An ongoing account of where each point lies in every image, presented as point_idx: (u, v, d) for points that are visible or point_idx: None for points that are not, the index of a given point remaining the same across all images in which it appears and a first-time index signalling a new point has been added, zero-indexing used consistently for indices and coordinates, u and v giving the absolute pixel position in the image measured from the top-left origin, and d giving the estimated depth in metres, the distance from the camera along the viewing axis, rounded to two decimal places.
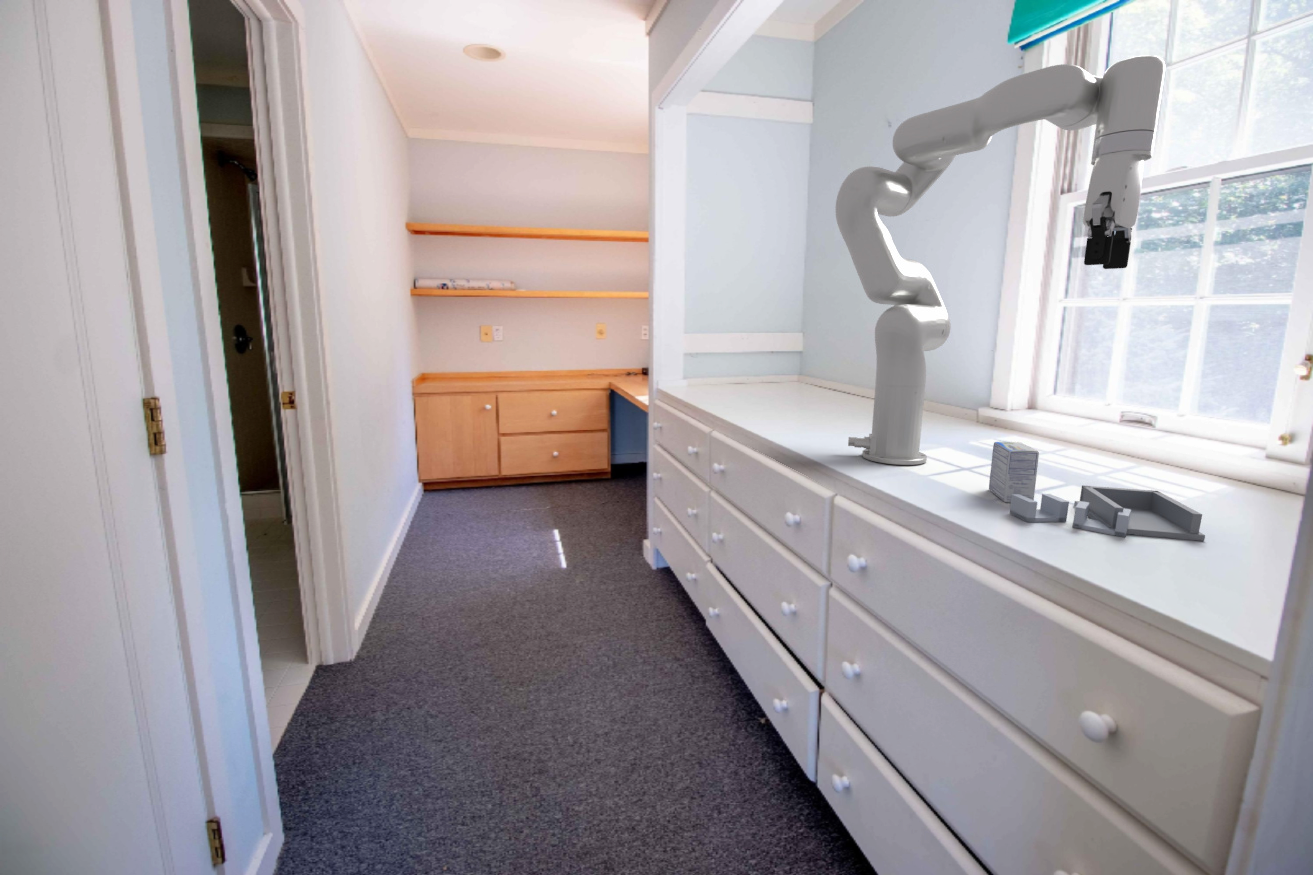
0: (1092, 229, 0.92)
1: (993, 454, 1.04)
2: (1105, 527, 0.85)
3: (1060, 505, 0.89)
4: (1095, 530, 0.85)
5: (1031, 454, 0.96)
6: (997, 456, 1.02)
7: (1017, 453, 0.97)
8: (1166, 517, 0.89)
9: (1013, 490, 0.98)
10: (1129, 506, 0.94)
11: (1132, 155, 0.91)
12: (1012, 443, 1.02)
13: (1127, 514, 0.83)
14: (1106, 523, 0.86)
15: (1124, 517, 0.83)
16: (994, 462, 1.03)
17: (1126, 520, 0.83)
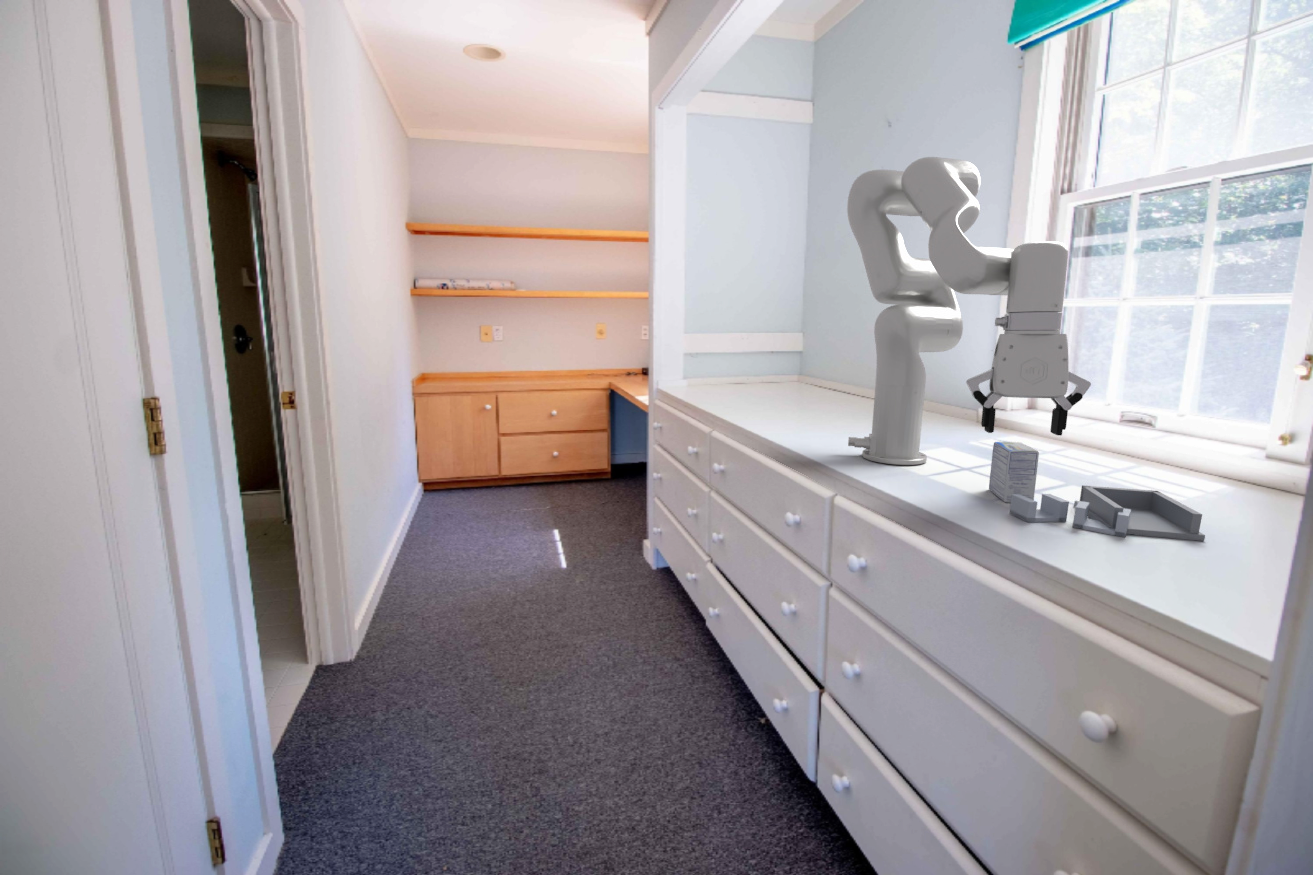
0: (1075, 403, 0.96)
1: (993, 454, 1.04)
2: (1105, 527, 0.85)
3: (1060, 505, 0.89)
4: (1095, 530, 0.85)
5: (1031, 454, 0.96)
6: (997, 456, 1.02)
7: (1017, 453, 0.97)
8: (1166, 517, 0.89)
9: (1013, 490, 0.98)
10: (1129, 506, 0.94)
11: None
12: (1012, 443, 1.02)
13: (1127, 514, 0.83)
14: (1106, 523, 0.86)
15: (1124, 517, 0.83)
16: (994, 462, 1.03)
17: (1126, 520, 0.83)
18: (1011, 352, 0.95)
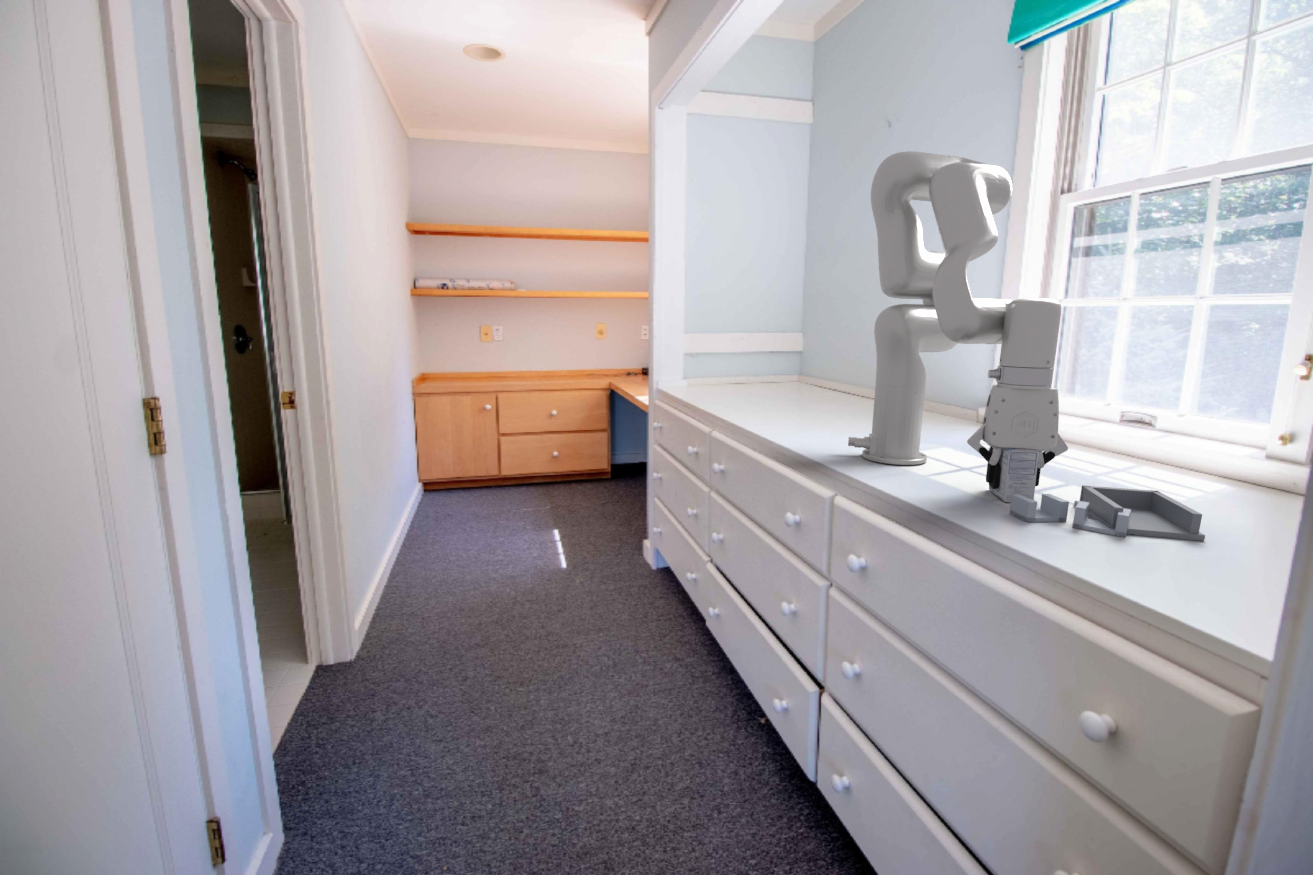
0: (1047, 461, 0.99)
1: None
2: (1105, 527, 0.85)
3: (1060, 505, 0.89)
4: (1095, 530, 0.85)
5: (1031, 454, 0.96)
6: None
7: (1017, 453, 0.97)
8: (1166, 517, 0.89)
9: (1013, 490, 0.98)
10: (1129, 506, 0.94)
11: None
12: None
13: (1127, 514, 0.83)
14: (1106, 523, 0.86)
15: (1124, 517, 0.83)
16: None
17: (1126, 520, 0.83)
18: (1002, 405, 0.97)
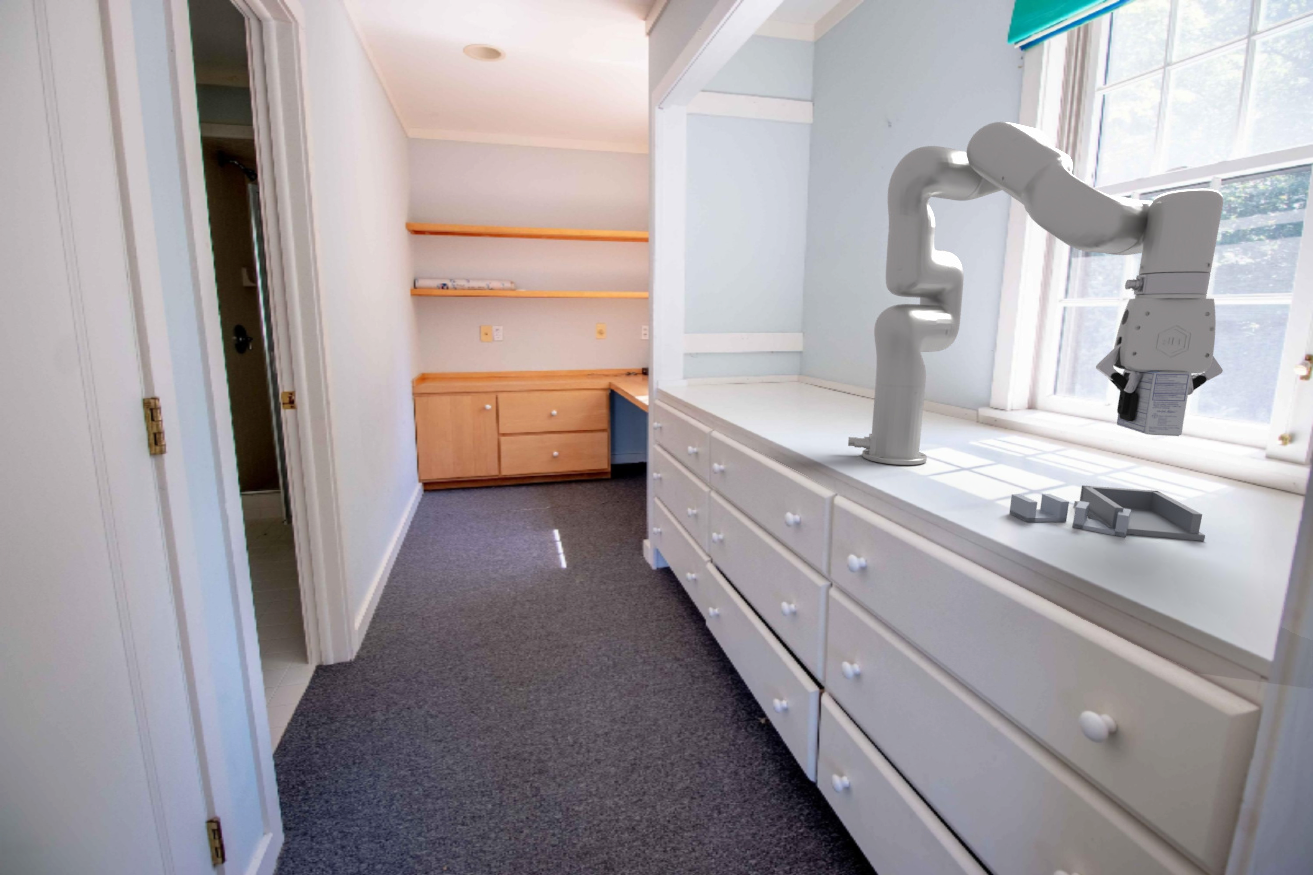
0: (1196, 387, 0.84)
1: None
2: (1105, 527, 0.85)
3: (1060, 505, 0.89)
4: (1095, 530, 0.85)
5: (1182, 376, 0.82)
6: None
7: (1164, 375, 0.82)
8: (1166, 517, 0.89)
9: (1158, 420, 0.83)
10: (1129, 506, 0.94)
11: None
12: None
13: (1127, 514, 0.83)
14: (1106, 523, 0.86)
15: (1124, 517, 0.83)
16: None
17: (1126, 520, 0.83)
18: (1146, 319, 0.82)
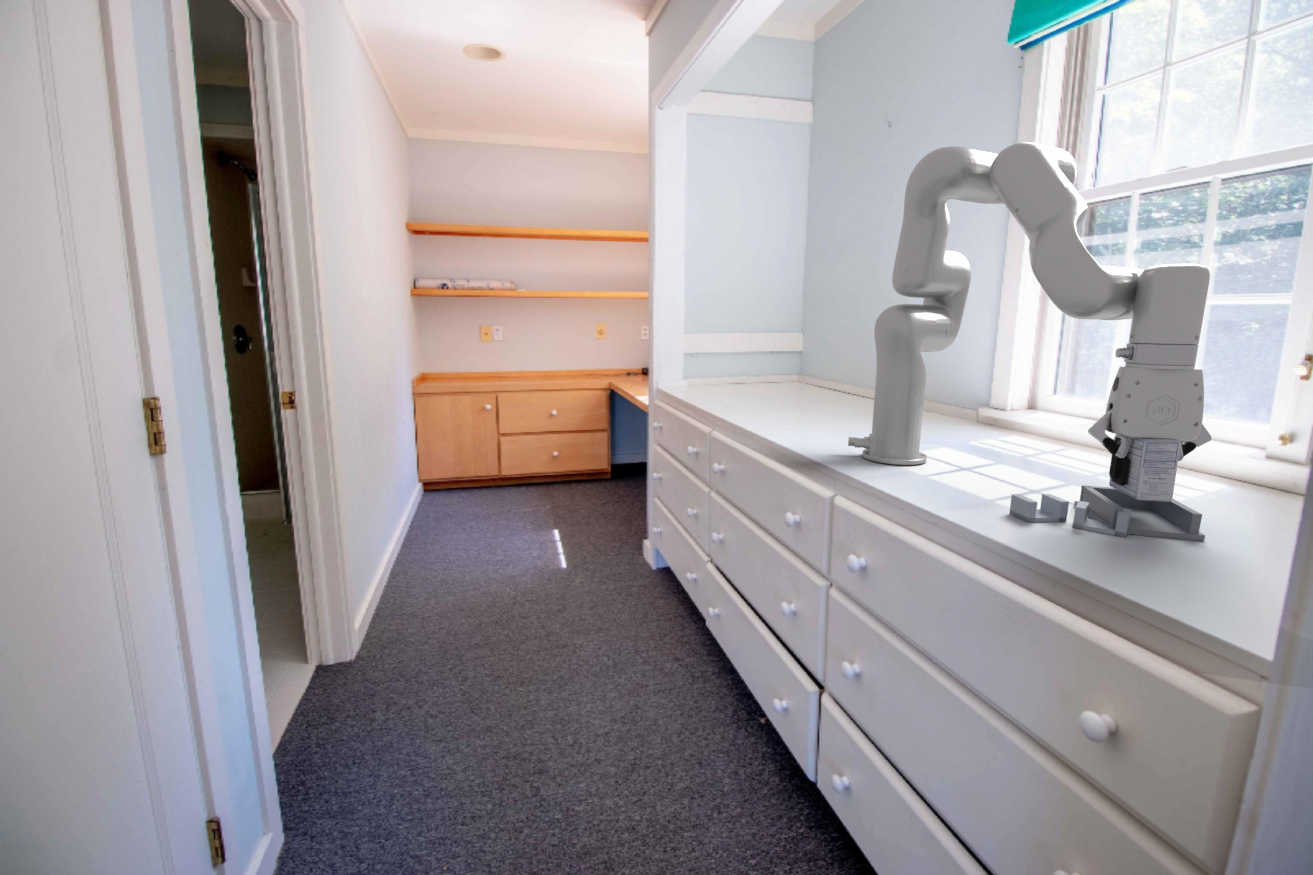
0: (1186, 453, 0.86)
1: None
2: (1105, 527, 0.85)
3: (1060, 505, 0.89)
4: (1095, 530, 0.85)
5: (1171, 444, 0.83)
6: None
7: (1154, 443, 0.84)
8: (1166, 517, 0.89)
9: (1149, 486, 0.85)
10: (1129, 506, 0.94)
11: None
12: None
13: (1127, 514, 0.83)
14: (1106, 523, 0.86)
15: (1124, 517, 0.83)
16: None
17: (1126, 520, 0.83)
18: (1136, 388, 0.84)
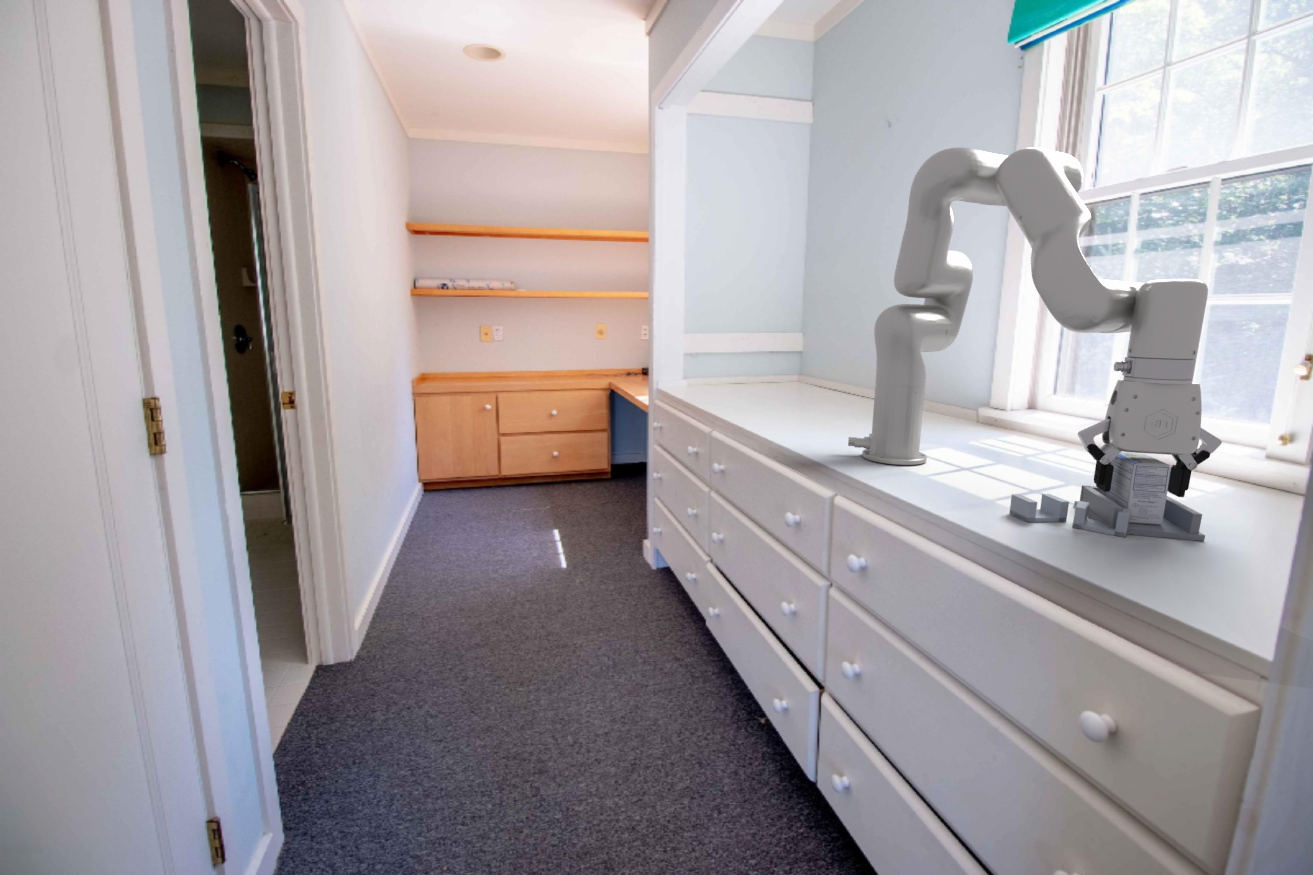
0: None
1: None
2: (1105, 527, 0.85)
3: (1060, 505, 0.89)
4: (1095, 530, 0.85)
5: (1162, 468, 0.84)
6: (1116, 469, 0.90)
7: (1144, 467, 0.85)
8: (1166, 517, 0.89)
9: (1138, 509, 0.86)
10: None
11: None
12: (1135, 455, 0.90)
13: (1127, 514, 0.83)
14: (1106, 523, 0.86)
15: (1124, 517, 0.83)
16: (1112, 476, 0.91)
17: (1126, 520, 0.83)
18: (1134, 402, 0.85)
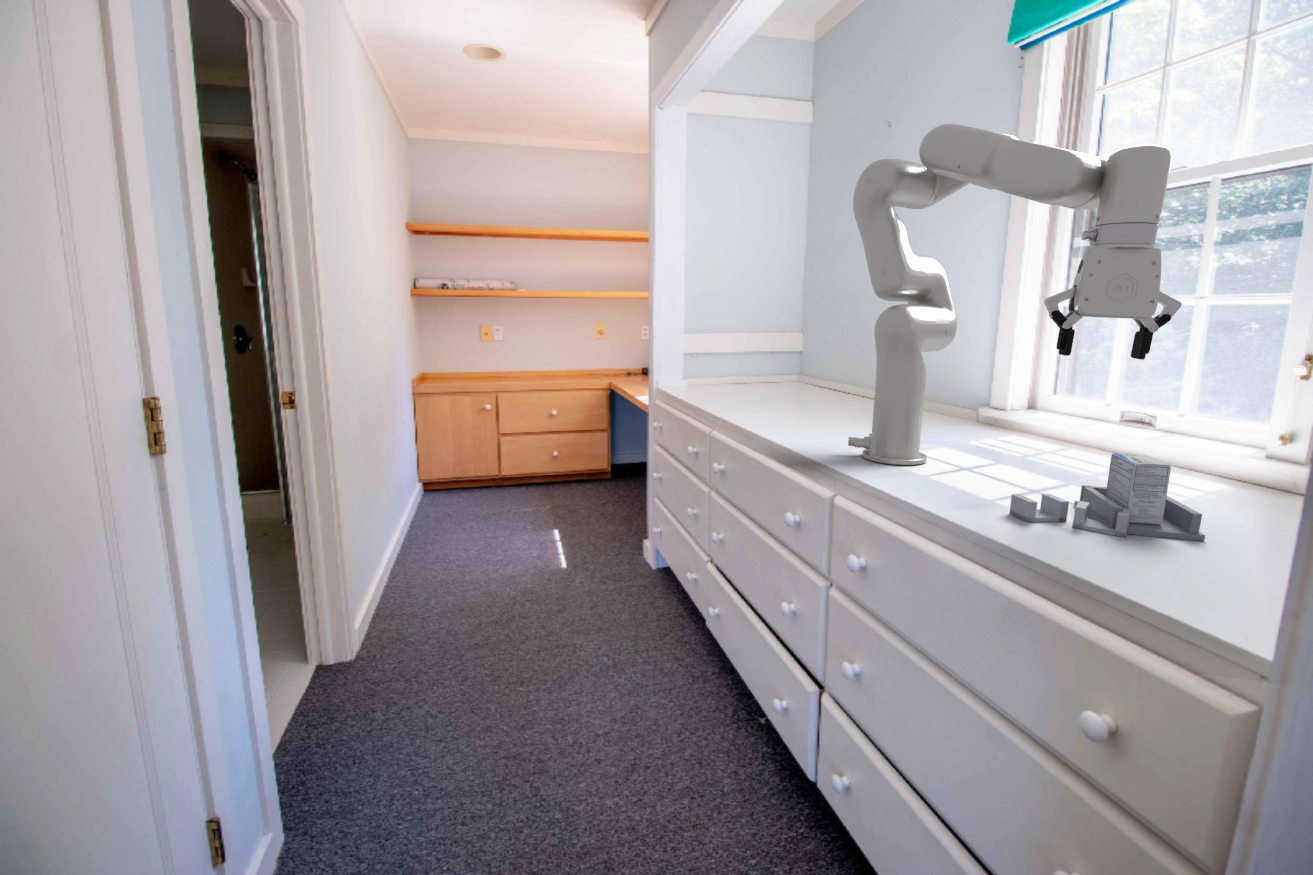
0: (1162, 325, 0.90)
1: (1111, 467, 0.92)
2: (1105, 527, 0.85)
3: (1060, 505, 0.89)
4: (1095, 530, 0.85)
5: (1162, 468, 0.84)
6: (1116, 469, 0.90)
7: (1144, 467, 0.85)
8: (1166, 517, 0.89)
9: (1138, 509, 0.86)
10: None
11: None
12: (1135, 455, 0.90)
13: (1127, 514, 0.83)
14: (1106, 523, 0.86)
15: (1124, 517, 0.83)
16: (1112, 476, 0.91)
17: (1126, 520, 0.83)
18: (1098, 267, 0.89)
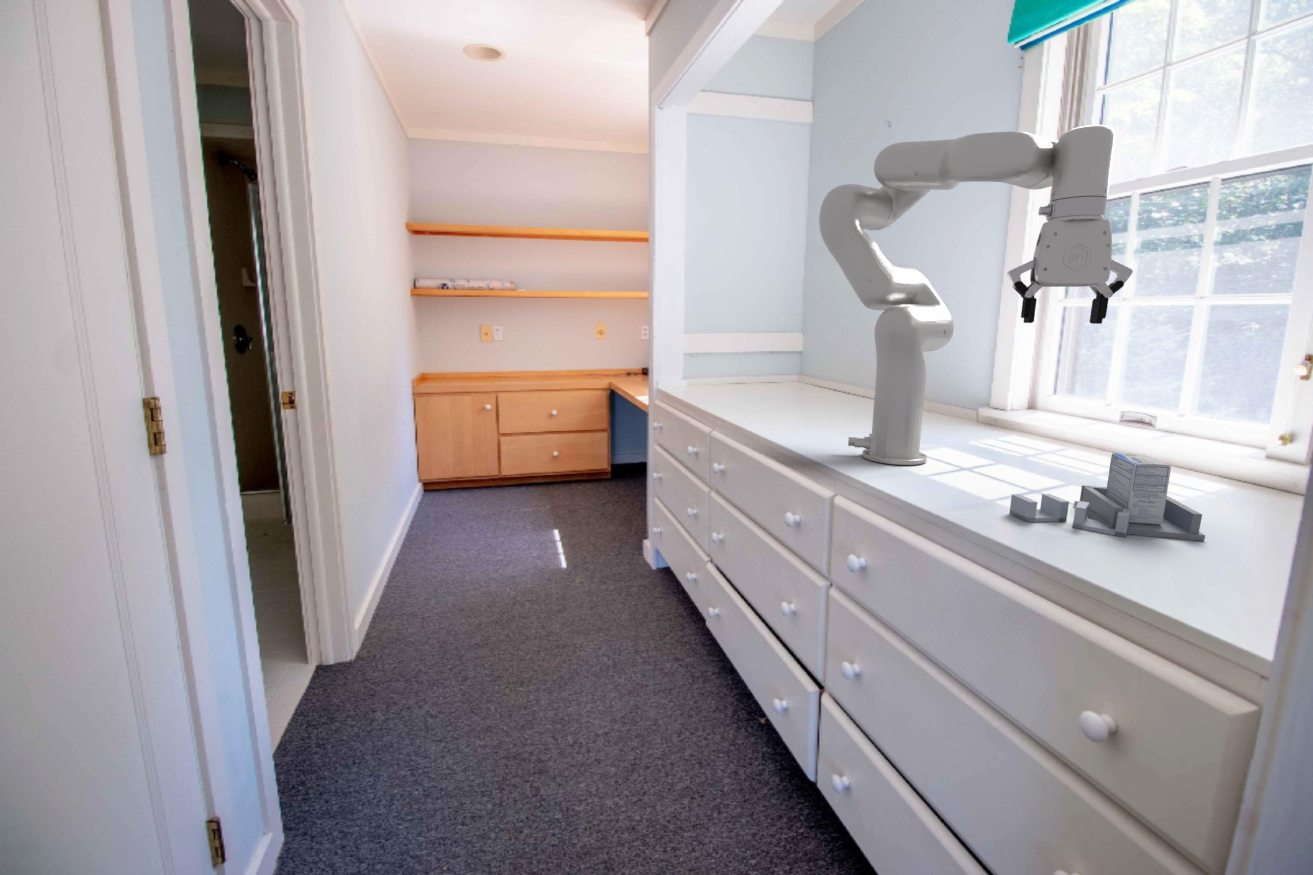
0: (1116, 291, 0.97)
1: (1111, 467, 0.92)
2: (1105, 527, 0.85)
3: (1060, 505, 0.89)
4: (1095, 530, 0.85)
5: (1162, 468, 0.84)
6: (1116, 469, 0.90)
7: (1144, 467, 0.85)
8: (1166, 517, 0.89)
9: (1138, 509, 0.86)
10: None
11: None
12: (1135, 455, 0.90)
13: (1127, 514, 0.83)
14: (1106, 523, 0.86)
15: (1124, 517, 0.83)
16: (1112, 476, 0.91)
17: (1126, 520, 0.83)
18: (1054, 239, 0.96)
